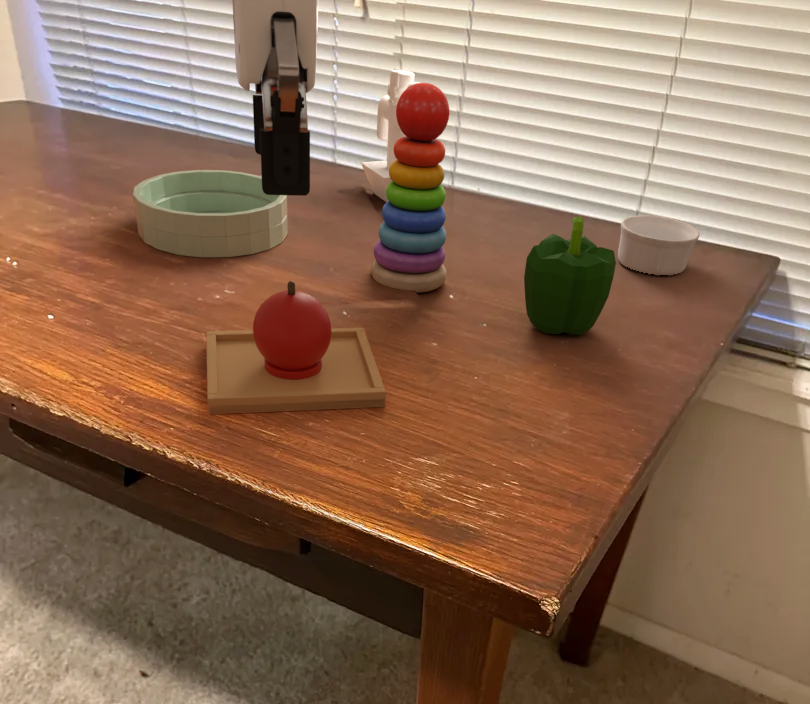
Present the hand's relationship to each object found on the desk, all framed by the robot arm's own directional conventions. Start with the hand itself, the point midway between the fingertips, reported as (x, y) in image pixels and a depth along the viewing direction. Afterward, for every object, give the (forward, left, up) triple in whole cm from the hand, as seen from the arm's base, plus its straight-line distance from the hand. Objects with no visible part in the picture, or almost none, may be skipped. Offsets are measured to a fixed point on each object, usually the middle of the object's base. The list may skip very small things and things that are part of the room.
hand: (280, 172), depth 59 cm
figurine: (+18, +49, -16) cm, 55 cm away
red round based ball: (+1, 0, -15) cm, 15 cm away
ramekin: (+44, +24, -16) cm, 53 cm away
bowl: (-6, +34, -16) cm, 38 cm away
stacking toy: (+14, +20, -16) cm, 29 cm away
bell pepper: (+27, +8, -16) cm, 33 cm away
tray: (0, 0, -16) cm, 16 cm away
